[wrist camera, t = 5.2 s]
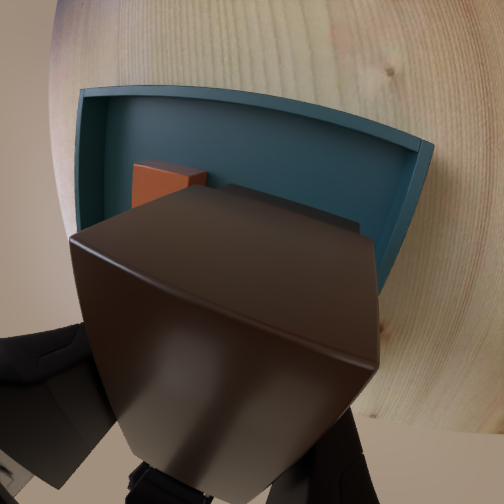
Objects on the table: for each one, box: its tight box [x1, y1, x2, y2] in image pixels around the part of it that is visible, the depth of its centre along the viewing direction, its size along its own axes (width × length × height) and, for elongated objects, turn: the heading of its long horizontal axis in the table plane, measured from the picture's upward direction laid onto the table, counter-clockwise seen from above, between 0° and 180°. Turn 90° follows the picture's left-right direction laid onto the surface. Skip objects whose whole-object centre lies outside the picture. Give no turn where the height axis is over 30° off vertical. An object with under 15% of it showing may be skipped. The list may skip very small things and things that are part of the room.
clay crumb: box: [132, 159, 207, 208], centre depth 16 cm, size 4×4×2 cm
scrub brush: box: [69, 183, 380, 504], centre depth 7 cm, size 4×8×5 cm, turn 168°
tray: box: [74, 85, 434, 296], centre depth 15 cm, size 20×13×3 cm, turn 79°
